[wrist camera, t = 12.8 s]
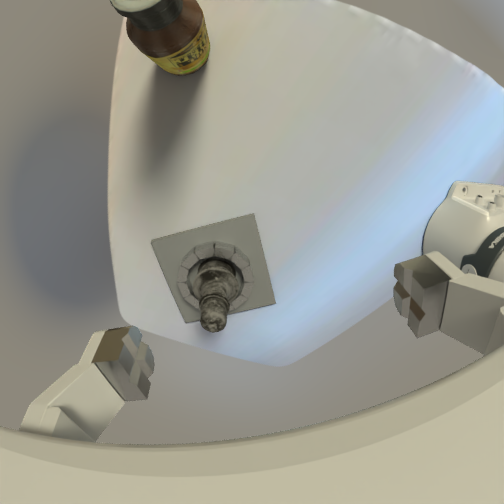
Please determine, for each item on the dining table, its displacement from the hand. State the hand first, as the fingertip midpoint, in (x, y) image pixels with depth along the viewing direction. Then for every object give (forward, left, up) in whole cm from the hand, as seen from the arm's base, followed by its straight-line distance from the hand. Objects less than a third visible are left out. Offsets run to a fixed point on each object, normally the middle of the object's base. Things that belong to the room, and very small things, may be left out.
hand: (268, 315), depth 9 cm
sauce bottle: (+3, -15, -29) cm, 33 cm away
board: (+7, +14, -29) cm, 33 cm away
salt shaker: (+7, +14, -29) cm, 33 cm away
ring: (+7, +14, -28) cm, 32 cm away
